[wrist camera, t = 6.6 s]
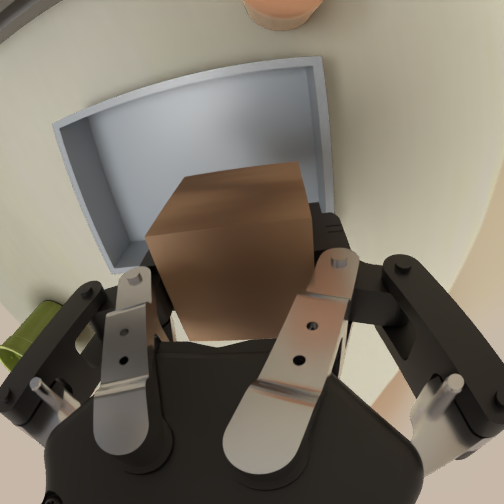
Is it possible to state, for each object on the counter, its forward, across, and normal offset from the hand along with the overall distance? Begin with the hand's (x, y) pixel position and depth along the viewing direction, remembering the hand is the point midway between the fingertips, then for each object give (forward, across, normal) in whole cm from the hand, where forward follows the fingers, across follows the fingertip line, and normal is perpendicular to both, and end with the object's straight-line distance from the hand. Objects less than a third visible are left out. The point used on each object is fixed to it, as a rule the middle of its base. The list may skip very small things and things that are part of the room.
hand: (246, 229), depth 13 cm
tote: (+12, +5, 0) cm, 13 cm away
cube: (+1, 0, 0) cm, 1 cm away
